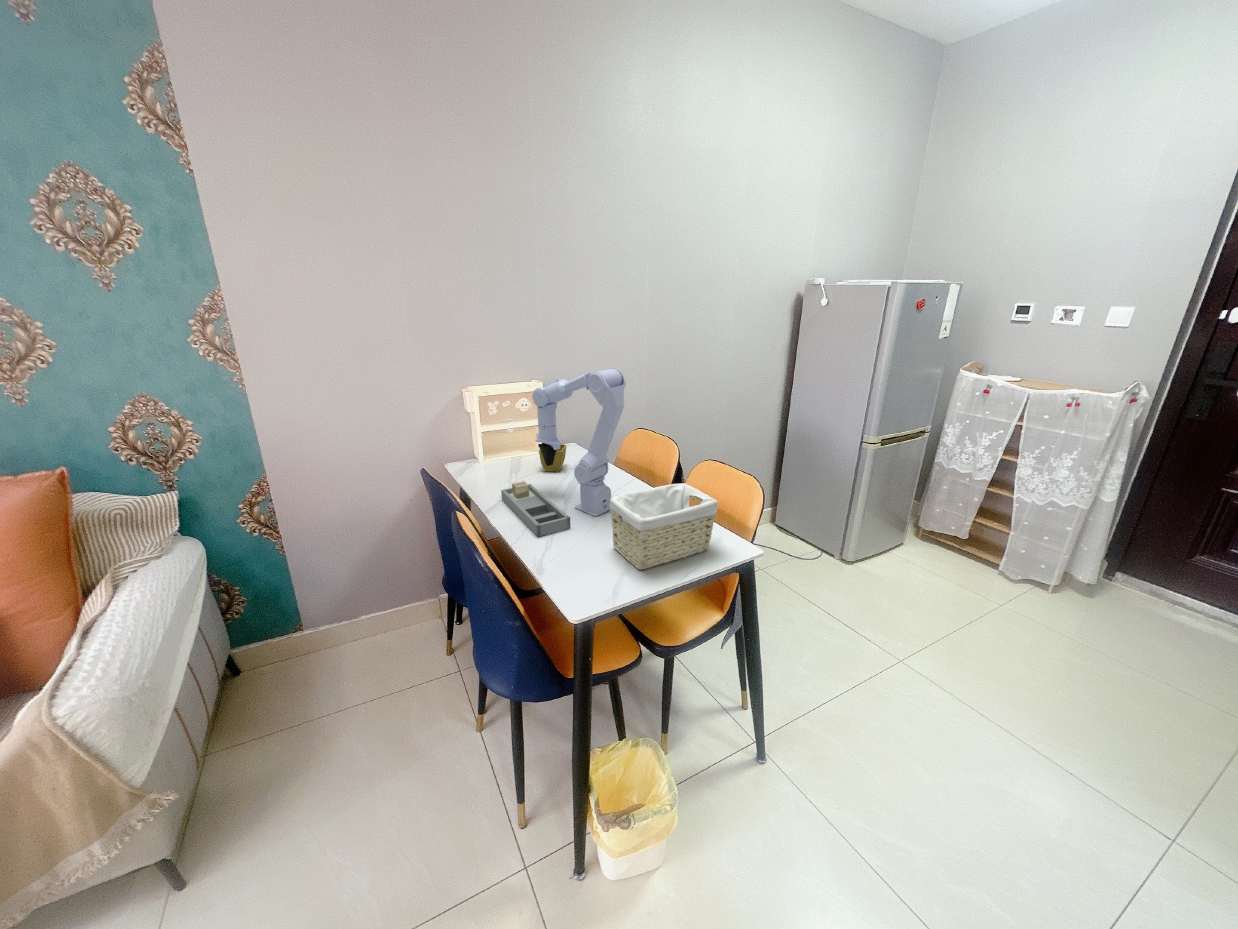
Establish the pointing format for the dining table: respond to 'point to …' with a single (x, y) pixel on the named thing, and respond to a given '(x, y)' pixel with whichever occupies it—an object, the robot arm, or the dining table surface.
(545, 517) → the box
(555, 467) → the flower pot
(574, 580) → the dining table surface
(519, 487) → the maple block
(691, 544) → the storage basket
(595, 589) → the dining table surface
